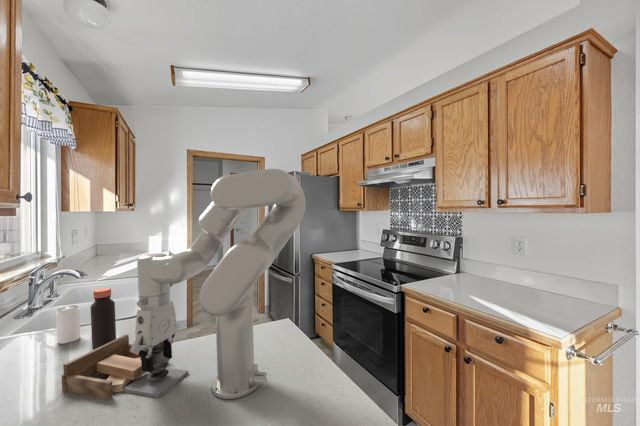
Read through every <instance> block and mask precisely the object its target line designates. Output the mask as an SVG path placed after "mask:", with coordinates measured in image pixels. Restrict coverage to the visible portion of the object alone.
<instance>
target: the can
mask: <svg viewBox="0 0 640 426" xmlns="http://www.w3.org/2000/svg"><path fill="white" fill-rule="evenodd" d="M78 307H79V306H78V305H66V306H63V307H61V308H60V307H59V308H58V309H57V312H56V314H55V315H56V316H55V317H56V320H55V321H56V339H57V343H58V344H59V345H64V344H70V343H74V342H76V341H78V340H79V339H80V338H81V317H80V309H79V308H78Z"/></svg>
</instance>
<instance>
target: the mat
mask: <svg viewBox="0 0 640 426" xmlns="http://www.w3.org/2000/svg"><path fill="white" fill-rule="evenodd" d="M166 369H167V370H168V371H169V373H168V374H167V375H166V376H165V377H163V378H161V379H158V380H153V381H152V380H148V379H147V376H148V374H150V373H149V372H146V373H144V374H143V375H141V376H140V377H138V378H136V379H135V380H133V382H132V383H130V384H127V385H126V387H125V388H124V390H123V392H124V393H128V394H129V393H130V394H134V395H140V396H146V397H152V398H156V399H159V398H160V397H161V396H162V395H164V394H165V393H166V392H168V391H169V390H170V389H171V388H172V387H174V386H176V384H177V383H178V382H180V381H181V380H182V379H184V378H185V377H186V376H187V375H188V374H189V370H185V369H180V368H178V369H177V368H172V367H166Z"/></svg>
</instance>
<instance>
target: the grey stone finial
mask: <svg viewBox="0 0 640 426" xmlns="http://www.w3.org/2000/svg"><path fill="white" fill-rule="evenodd" d="M163 348H164V346H163V343H162V342H161V343H159V344H157V345H156V346H154V347H153V348H152V352H151V356H153V371H152V372H149V373H150V374H148V376H147V379H148V380H152V381H153V380H158V379H161V378H163V377H165V376H166V375H167V374H168V373H169V371H168V370H167V369H166V368H168V366H169V365H168V364H169V361H170V359H169V358H168V357H165V356H164V355H163Z"/></svg>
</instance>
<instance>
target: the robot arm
mask: <svg viewBox="0 0 640 426" xmlns="http://www.w3.org/2000/svg"><path fill="white" fill-rule="evenodd" d="M211 186H212V187H211V189H210V198H211V202H210V204H209V205H208V206H207V208H205V210H204V211H203V213H202V214H201V215H200V216H199V218H198V225H199V227H200V232H199V234H198V236H197V238H196V239H195V241H194V242H193V243H192V244H191V245H190V247H189V248H188V249H187V250H185V251H181V252H178V253H175V254H172V255H167V254H165V253H149V254H143V255H141V256H139V257H138V259H137V262H136V264H137V265H136V266H137V267H136V268H137V286H138V287H137V291H138V301H137V302H136V306H137V307H138V308H137V311H136V317H135V329H134V332H135V333H134V334H135V335H134V336H135V340H134V342H133V345H132V347H131V349H130V352H132V353H134V354H136V355H137V356H139V357H141V365H142V371H145V372H146V373H147V372H152V371H153V356H151V352H152V348H153V347H154V346H156V345H157V344H159V343H161V342H162V343H163V346H164V348H163V355H164V356H165V357H168V358H169V360H171V359H172V358H173V350H172V349H173V347H172V344H173V343H174V338H175V336H176V333H177V331H178V329H179V325H178V323H177V314H176V308H175V305H174V302H173V299H171V285H177V284H180V283H183V282H185V281H187V280H189V279H191V278H193V277H195V276H197V275H199V274H201V272H203V271H204V270H205V269H206V267H208V266H209V264H210V263H211V262H212V260H213V259H214V258H215V257H216V255H217V254H218V252H219V251H220V250H221V248H222V246H223V244H224V242H225V239H226V238H227V236H228V235H229V233H231V232H232V230H233V228H235V227H236V225H237V224H238V223H239V222H240V220H241V219H242V218H243V216H244V215H245V214H247V212H248V211H249V210H250V209H253V208H262V207H267V206H268V207H269V206H272V208H271V210H270V211H269V212H268V213H267V215H266V216H265V217H264V218H263V219H262V221H261V223H260V224H259V225H258V226H257V228H256V229H255V230H254V231H253V233H252V234H251V235H250V236H249V237H246V238H245V239H242V240H240V241H238V242H236V243H235V244H233V245H232V246H231V247H230V248H229V249H228V250H227V252H226V253H225V254H224V256H223V257H222V258H221V259H220V260H219V262H218V264H217V265H216V266H215V267H214V268H213V270H212V271H211V272H210V274H209V275H208V277H207V278H206V279H205V281H204V282H203V284H202V286H201V288H200V291H199V298H198V300H199V305H200V307H201V308H202V311H204V312H205V313H206V314H208V315H210V316H214V317H216V318H215V332H216V333H215V337H216V339H215V340H216V360H217V361H216V366H217V367H216V371H217V376H216V377H215V378H213V380H212V382H211V393H212V394H213V395H214V396H215V397H218V398H219V399H224V400H225V399H226V400H231V399H233V400H234V399H238V398H239V399H240V398H241V397H242V398H243V397H245V396H247V395H249V394H251V393H253V392H254V391H255V390H256V389H257V388H258V387H259V385H260V386H266V385H267V383H268V377H267V374H268V373H267V372H266V371H259V369H258V367H259V364H257V363H255V351H254V349H255V347H254V344H255V343H254V298H255V283H256V282H257V281H258V279H259V278H260V277H261V276H262V275H263V273H265V272H266V271H268V269H269V268H270V267H271V266H272V264H273V262H274V261H275V260H276V258H277V256H278V255H279V254H280V252H281V251H282V250H283V249H284V247H285V246H286V244H287V243H288V241H289V240H290V239H291V237H292V236H293V234H294V233H295V232H296V230H297V229H298V228H299V226H300V224H301V222H302V221H303V218H304V215H305V211H306V196H305V193H304V190H303V187H302V186H301V184H300V182H299V181H298V179H297V178H296V177H295V176H293V175H292V174H290V173H288V172H286V171H285V170H283V169H279V168H268V169H258V170H253V171H246V172H240V173H233V174H232V173H230V174H225V175H223V176H221V177H219V178H217V179H216V180H215V182H214V183H213V184H212V185H211ZM140 346H141V348H140ZM146 347H148V348H147V352H146V351H145V348H146Z"/></svg>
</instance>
